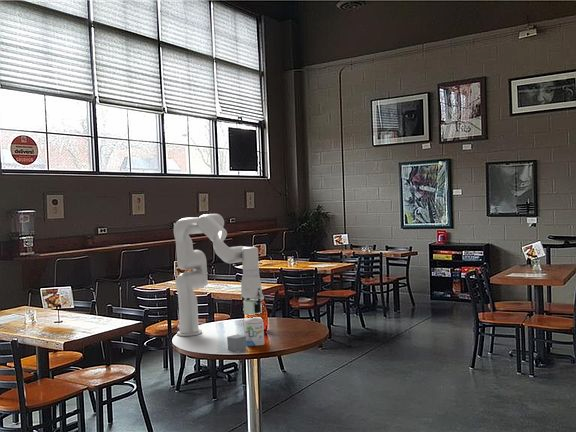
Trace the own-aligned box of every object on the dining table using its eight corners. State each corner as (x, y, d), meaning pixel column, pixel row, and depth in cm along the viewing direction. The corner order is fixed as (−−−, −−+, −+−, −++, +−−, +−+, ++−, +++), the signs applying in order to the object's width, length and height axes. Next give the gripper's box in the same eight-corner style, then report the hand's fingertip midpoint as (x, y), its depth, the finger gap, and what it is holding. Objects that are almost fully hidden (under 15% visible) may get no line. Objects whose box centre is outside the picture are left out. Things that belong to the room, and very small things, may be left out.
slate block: (227, 350, 258) (227, 336, 258) (238, 347, 262) (237, 334, 262) (236, 352, 254) (235, 338, 254) (246, 349, 258) (245, 336, 258)
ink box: (246, 346, 263) (245, 321, 263) (244, 342, 271) (243, 317, 271) (264, 344, 265) (263, 319, 264) (262, 340, 273) (260, 316, 273)
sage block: (243, 313, 268) (243, 301, 268) (253, 311, 272) (253, 299, 272) (252, 315, 263) (251, 302, 263) (262, 312, 268) (261, 300, 268)
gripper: (233, 273, 271) (235, 311, 271) (257, 275, 259) (259, 315, 259) (245, 271, 276) (247, 308, 276) (269, 273, 264) (271, 312, 264)
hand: (253, 311), depth 268 cm, fingers closed on sage block, 6 cm apart
